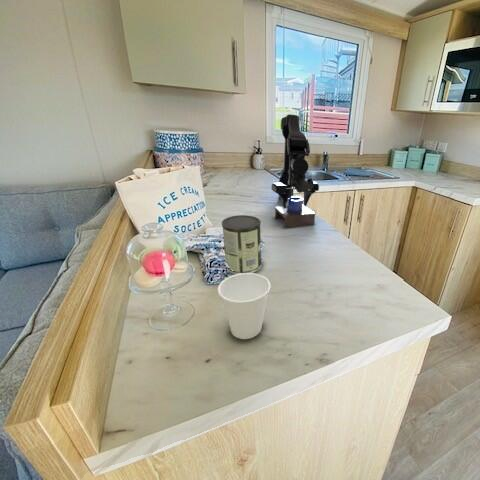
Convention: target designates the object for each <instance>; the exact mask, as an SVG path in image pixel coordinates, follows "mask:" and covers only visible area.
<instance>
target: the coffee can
mask: <svg viewBox="0 0 480 480" xmlns="http://www.w3.org/2000/svg"><path fill="white" fill-rule="evenodd" d="M261 224H262V221H261V219H260V218H259V217H256V216H254V215H247V214H246V215H245V214H243V215H242V214H240V215H239V214H238V215H232V216H229V217H225V218H224V219H223V220H222V221H221V225H222V236H223V248H224V259H225V260H224V261H225V264H226V263H227V264H228V266H229V267H230V269H232V270H233V271H232V270H230V269H228V268H227V269H226V271H227V272H228V273H230V274H233V275H235V274H240V273H256V272H258V271H259V270H260V269H261V268H262V243H261V241H262V239H261V238H262V237H261Z"/></svg>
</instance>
